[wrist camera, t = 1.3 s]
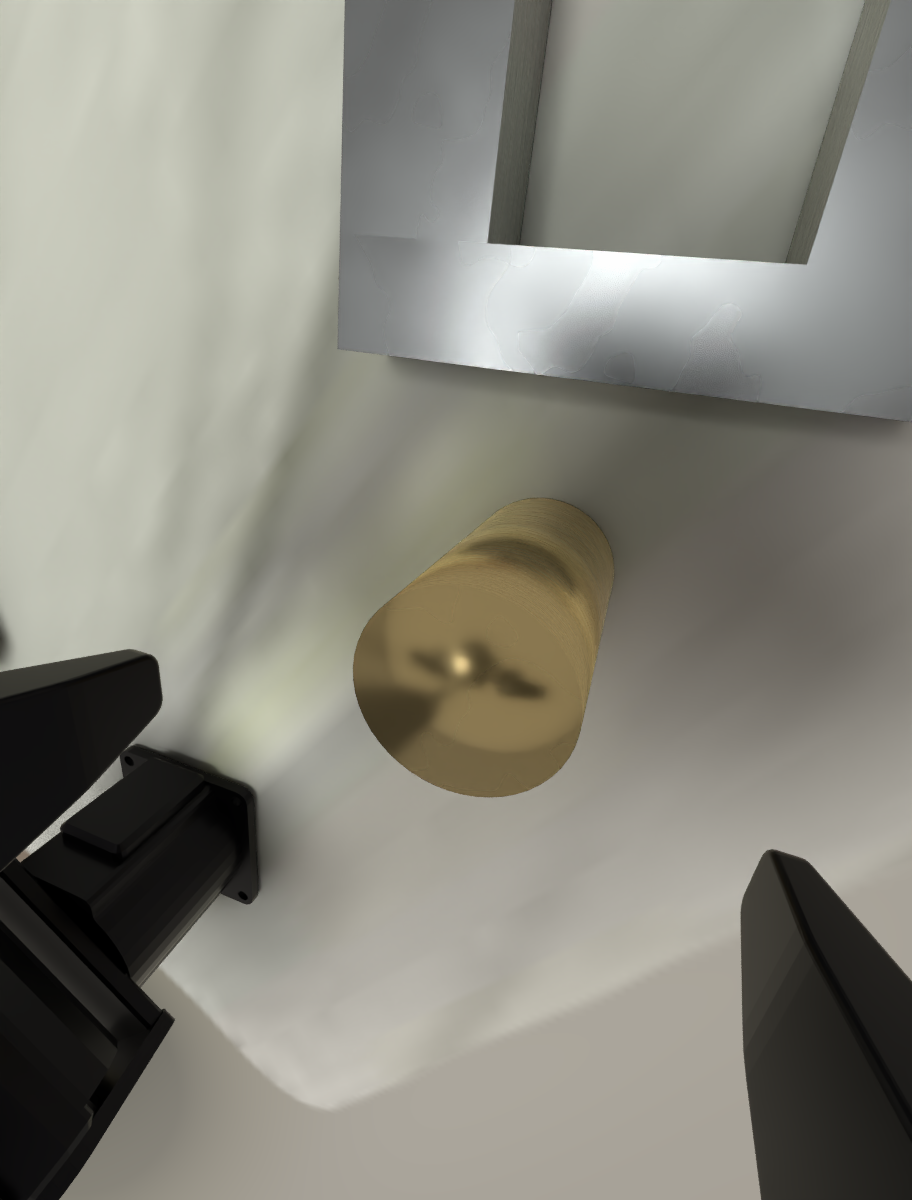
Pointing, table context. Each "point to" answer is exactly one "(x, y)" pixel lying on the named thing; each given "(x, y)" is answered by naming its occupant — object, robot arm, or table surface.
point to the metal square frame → (601, 278)
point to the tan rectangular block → (491, 652)
